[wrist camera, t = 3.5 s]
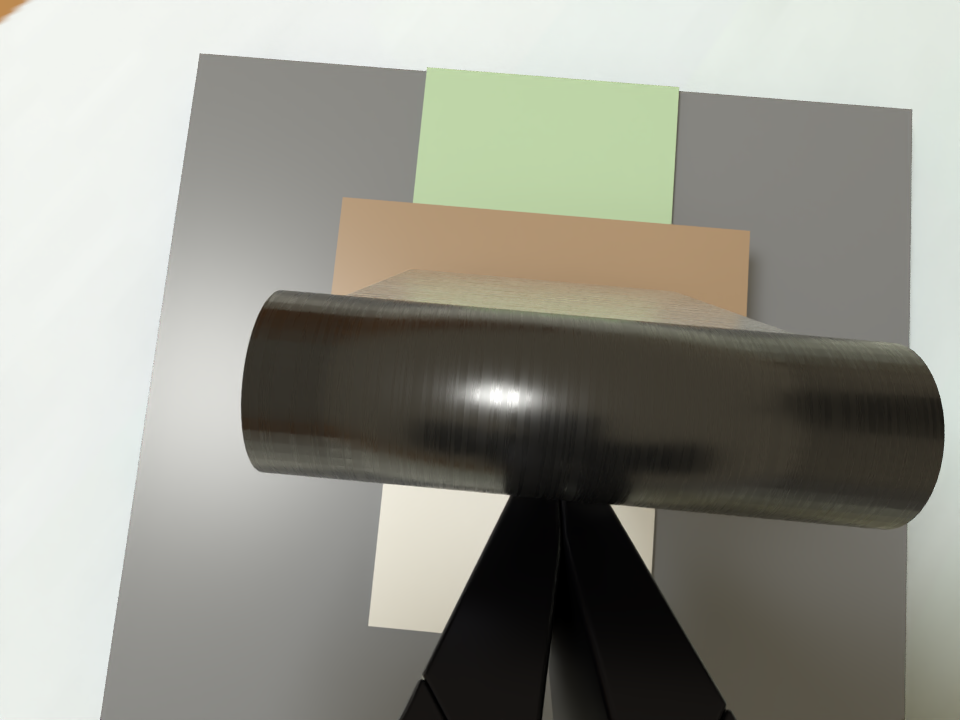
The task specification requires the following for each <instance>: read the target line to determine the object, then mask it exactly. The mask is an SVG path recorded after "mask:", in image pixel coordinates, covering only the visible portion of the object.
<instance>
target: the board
mask: <svg viewBox="0 0 960 720" xmlns="http://www.w3.org/2000/svg"><path fill="white" fill-rule="evenodd" d="M911 163H912V109H899V108H886V107H874V106H861V105H848V104H836V103H823V102H810V101H797V100H785V99H772V98H759V97H747V96H734V95H721V94H708V93H696V92H683V91H679V87H670V86H657V85H644V84H632V83H619V82H606V81H594V80H581V79H568V78H555V77H543V76H530V75H517V74H504V73H492V72H479V71H466V70H454V69H441V68H428V67H427V71H416V70H403V69H391V68H378V67H365V66H353V65H340V64H327V63H314V62H302V61H289V60H276V59H264V58H251V57H238V56H225V55H213V54H200V56H199V62H198V69H197V76H196V82H195V89H194V96H193V102H192V109H191V116H190V123H189V129H188V136H187V143H186V149H185V156H184V163H183V169H182V176H181V183H180V189H179V196H178V203H177V209H176V216H175V223H174V229H173V236H172V243H171V250H170V256H169V263H168V270H167V276H166V283H165V290H164V296H163V303H162V310H161V316H160V323H159V330H158V336H157V343H156V350H155V356H154V363H153V370H152V377H151V383H150V390H149V397H148V403H147V410H146V417H145V423H144V430H143V437H142V443H141V450H140V457H139V463H138V470H137V477H136V483H135V490H134V497H133V503H132V510H131V517H130V524H129V530H128V537H127V544H126V550H125V557H124V564H123V570H122V577H121V584H120V590H119V597H118V604H117V610H116V617H115V624H114V630H113V637H112V644H111V651H110V657H109V664H108V671H107V677H106V684H105V691H104V697H103V704H102V711H101V717H100V720H398V718H399V717H400V715H401V713H402V711H403V709H404V707H405V705H406V703H407V701H408V699H409V697H410V695H411V693H412V691H413V689H414V687H415V685H416V683H417V681H418V680H419V679H421V674H422V672H423V670H424V668H425V666H426V664H427V662H428V660H429V658H430V656H431V654H432V652H433V650H434V648H435V646H436V644H437V642H438V640H439V638H440V636H441V634H442V632H443V630H444V628H445V626H446V624H447V622H448V620H449V618H450V616H451V613H452V611H453V609H454V607H455V605H456V603H457V601H458V599H459V597H460V595H461V593H462V591H463V589H464V587H465V585H466V583H467V581H468V579H469V577H470V575H471V573H472V571H473V569H474V567H475V565H476V563H477V561H478V559H479V557H480V555H481V553H482V551H483V549H484V547H485V545H486V543H487V541H488V539H489V537H490V535H491V533H492V531H493V529H494V527H495V525H496V523H497V521H498V519H499V517H500V515H501V513H502V511H503V509H504V507H505V505H506V503H507V501H508V499H509V497H510V495H501V494H490V493H480V492H469V491H458V490H447V489H436V488H425V487H415V486H404V485H393V484H382V483H371V482H360V481H349V480H339V479H328V478H317V477H306V476H295V475H284V474H273V473H263V472H259V471H258V470H256V469H255V468H254V467H253V465H252V464H251V462H250V460H249V458H248V455H247V452H246V449H245V444H244V440H243V433H242V423H241V390H242V378H243V371H244V363H245V358H246V353H247V348H248V344H249V340H250V336H251V333H252V330H253V327H254V324H255V322H256V319H257V316H258V314H259V312H260V310H261V308H262V307H263V305H264V303H265V302H266V300H267V299H268V298H269V297H270V296H271V295H272V294H273V293H274V292H276V291H278V290H288V291H299V292H311V293H322V294H334V295H348V294H350V293H353V292H355V291H358V290H360V289H363V288H365V287H368V286H370V285H373V284H375V283H378V282H380V281H383V280H385V279H388V278H390V277H393V276H395V275H398V274H400V273H403V272H405V271H408V270H410V269H417V270H429V271H440V272H452V273H464V274H476V275H487V276H499V277H511V278H523V279H534V280H546V281H558V282H570V283H581V284H593V285H605V286H617V287H628V288H640V289H652V290H664V291H674V292H677V293H680V294H683V295H686V296H689V297H691V298H694V299H697V300H700V301H703V302H705V303H708V304H711V305H714V306H717V307H720V308H722V309H725V310H728V311H731V312H734V313H736V314H739V315H742V316H745V317H748V318H750V319H753V320H756V321H759V322H762V323H765V324H767V325H770V326H773V327H776V328H779V329H781V330H784V331H787V332H790V333H793V334H798V335H810V336H822V337H833V338H845V339H856V340H868V341H880V342H891V343H898V344H901V345H904V346H906V347H908V348H909V324H910V244H911ZM611 507H612V508H613V510H614V512H615V514H616V515H617V517H618V519H619V520H620V522H621V524H622V525H623V527H624V529H625V531H626V532H627V534H628V536H629V537H630V539H631V541H632V542H633V544H634V546H635V547H636V549H637V551H638V553H639V554H640V556H641V558H642V559H643V561H644V563H645V564H646V566H647V568H648V570H649V571H650V573H651V575H652V576H653V578H654V580H655V581H656V583H657V585H658V586H659V588H660V590H661V592H662V593H663V595H664V597H665V598H666V600H667V602H668V603H669V605H670V607H671V609H672V610H673V612H674V614H675V615H676V617H677V619H678V620H679V622H680V624H681V626H682V627H683V629H684V631H685V632H686V634H687V636H688V637H689V639H690V641H691V642H692V644H693V646H694V648H695V649H696V651H697V653H698V654H699V656H700V658H701V659H702V661H703V663H704V665H705V666H706V668H707V670H708V671H709V673H710V675H711V676H712V678H713V680H714V682H715V683H716V685H717V687H718V688H719V690H720V692H721V693H722V695H723V697H724V698H725V700H726V702H727V707H726V710H727V709H730V710H731V711H732V712H733V713H734V715H735V717H736V718H737V720H905V646H906V566H907V524H905V525H903V526H901V527H899V528H895V529H891V530H881V529H870V528H860V527H849V526H838V525H827V524H816V523H805V522H794V521H784V520H773V519H762V518H751V517H740V516H729V515H718V514H708V513H697V512H686V511H675V510H664V509H653V508H642V507H632V506H621V505H611ZM542 720H553V712H552V701H551V689H550V678H549V666H548V673H547V682H546V690H545V699H544V707H543V715H542Z"/></svg>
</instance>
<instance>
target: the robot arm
mask: <svg viewBox="0 0 960 720" xmlns="http://www.w3.org/2000/svg"><path fill="white" fill-rule="evenodd" d="M548 666H549V678H550V689H551V701H552V712H553V720H737V718H736V717H735V715H734V713H733V712H732V711H731V710H730V709H727V710H726V707H727V702H726V700H725V698H724V697H723V695H722V693H721V692H720V690H719V688H718V687H717V685H716V683H715V682H714V680H713V678H712V676H711V675H710V673H709V671H708V670H707V668H706V666H705V665H704V663H703V661H702V659H701V658H700V656H699V654H698V653H697V651H696V649H695V648H694V646H693V644H692V642H691V641H690V639H689V637H688V636H687V634H686V632H685V631H684V629H683V627H682V626H681V624H680V622H679V620H678V619H677V617H676V615H675V614H674V612H673V610H672V609H671V607H670V605H669V603H668V602H667V600H666V598H665V597H664V595H663V593H662V592H661V590H660V588H659V586H658V585H657V583H656V581H655V580H654V578H653V576H652V575H651V573H650V571H649V570H648V568H647V566H646V564H645V563H644V561H643V559H642V558H641V556H640V554H639V553H638V551H637V549H636V547H635V546H634V544H633V542H632V541H631V539H630V537H629V536H628V534H627V532H626V531H625V529H624V527H623V525H622V524H621V522H620V520H619V519H618V517H617V515H616V514H615V512H614V510H613V508H612V507H611V505H610V504H599V503H588V502H577V501H566V500H556V499H545V498H534V497H523V496H512V495H510V497H509V499H508V501H507V503H506V505H505V507H504V509H503V511H502V513H501V515H500V517H499V519H498V521H497V523H496V525H495V527H494V529H493V531H492V533H491V535H490V537H489V539H488V541H487V543H486V545H485V547H484V549H483V551H482V553H481V555H480V557H479V559H478V561H477V563H476V565H475V567H474V569H473V571H472V573H471V575H470V577H469V579H468V581H467V583H466V585H465V587H464V589H463V591H462V593H461V595H460V597H459V599H458V601H457V603H456V605H455V607H454V609H453V611H452V613H451V616H450V618H449V620H448V622H447V624H446V626H445V628H444V630H443V632H442V634H441V636H440V638H439V640H438V642H437V644H436V646H435V648H434V650H433V652H432V654H431V656H430V658H429V660H428V662H427V664H426V666H425V668H424V670H423V672H422V674H421V679H419V680H418V681H417V683H416V685H415V687H414V689H413V691H412V693H411V695H410V697H409V699H408V701H407V703H406V705H405V707H404V709H403V711H402V713H401V715H400V717H399V718H398V720H542V715H543V707H544V699H545V690H546V682H547V673H548Z"/></svg>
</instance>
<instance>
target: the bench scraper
mask: <svg viewBox="0 0 960 720" xmlns="http://www.w3.org/2000/svg"><path fill="white" fill-rule="evenodd" d="M241 423H242V433H243V440H244V444H245V449H246V452H247V455H248V458H249V460H250V462H251V464H252V465H253V467H254V468H255V469H256V470H258V471H259V472H263V473H273V474H284V475H295V476H306V477H317V478H328V479H339V480H349V481H360V482H371V483H382V484H393V485H404V486H415V487H425V488H436V489H447V490H458V491H469V492H480V493H490V494H501V495H512V496H523V497H534V498H545V499H556V500H566V501H577V502H588V503H599V504H610V505H621V506H632V507H642V508H653V509H664V510H675V511H686V512H697V513H708V514H718V515H729V516H740V517H751V518H762V519H773V520H784V521H794V522H805V523H816V524H827V525H838V526H849V527H860V528H870V529H881V530H891V529H895V528H899V527H901V526H903V525H905V524H907V523H908V522H910V521H911V520H912V519H914V518H915V516H916V515H917V514H918V513H919V512H920V511H921V510H922V508H923V507H924V506H925V504H926V503H927V501H928V499H929V497H930V496H931V494H932V492H933V489H934V487H935V484H936V482H937V479H938V475H939V472H940V468H941V463H942V458H943V450H944V416H943V409H942V403H941V398H940V395H939V392H938V388H937V385H936V383H935V381H934V378H933V376H932V374H931V372H930V370H929V369H928V367H927V365H926V364H925V363H924V361H923V360H922V359H921V358H920V357H919V356H918V355H917V354H916V353H915V352H914V351H913V350H911V349H910V348H908V347H906V346H904V345H901V344H898V343H891V342H880V341H868V340H856V339H845V338H833V337H822V336H810V335H798V334H793V333H790V332H787V331H784V330H781V329H779V328H776V327H773V326H770V325H767V324H765V323H762V322H759V321H756V320H753V319H750V318H748V317H745V316H742V315H739V314H736V313H734V312H731V311H728V310H725V309H722V308H720V307H717V306H714V305H711V304H708V303H705V302H703V301H700V300H697V299H694V298H691V297H689V296H686V295H683V294H680V293H677V292H674V291H664V290H652V289H640V288H628V287H617V286H605V285H593V284H581V283H570V282H558V281H546V280H534V279H523V278H511V277H499V276H487V275H476V274H464V273H452V272H440V271H429V270H417V269H410V270H408V271H405V272H403V273H400V274H398V275H395V276H393V277H390V278H388V279H385V280H383V281H380V282H378V283H375V284H373V285H370V286H368V287H365V288H363V289H360V290H358V291H355V292H353V293H350V294H348V295H334V294H322V293H311V292H299V291H288V290H278V291H276V292H274V293H273V294H272V295H271V296H270V297H269V298H268V299H267V300H266V302H265V303H264V305H263V307H262V308H261V310H260V312H259V314H258V316H257V319H256V322H255V324H254V327H253V330H252V333H251V336H250V340H249V344H248V348H247V353H246V358H245V363H244V371H243V378H242V390H241Z"/></svg>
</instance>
